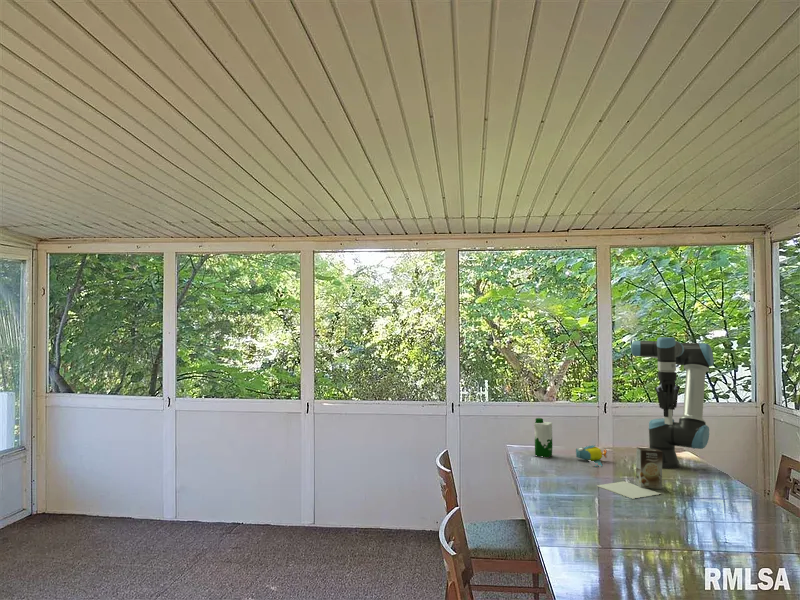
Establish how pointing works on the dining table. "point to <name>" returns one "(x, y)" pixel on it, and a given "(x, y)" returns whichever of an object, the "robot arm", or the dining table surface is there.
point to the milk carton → (543, 438)
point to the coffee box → (649, 468)
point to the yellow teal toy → (590, 454)
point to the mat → (628, 489)
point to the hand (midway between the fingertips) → (668, 424)
